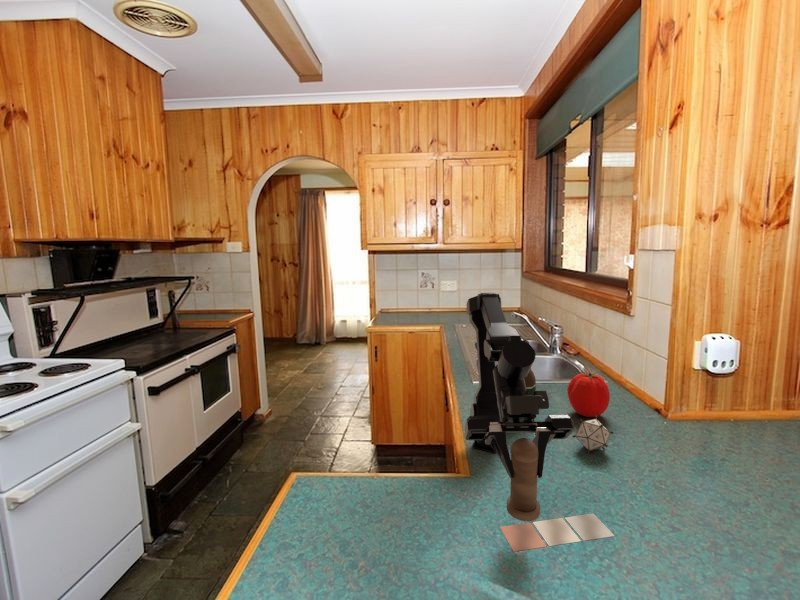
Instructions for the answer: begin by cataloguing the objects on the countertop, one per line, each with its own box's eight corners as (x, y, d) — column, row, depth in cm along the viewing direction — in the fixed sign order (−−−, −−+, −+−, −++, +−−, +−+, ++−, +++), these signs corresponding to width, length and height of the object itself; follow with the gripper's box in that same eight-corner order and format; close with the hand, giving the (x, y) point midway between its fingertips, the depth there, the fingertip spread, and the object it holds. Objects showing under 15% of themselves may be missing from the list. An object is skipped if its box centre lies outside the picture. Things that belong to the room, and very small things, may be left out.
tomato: (610, 411, 123) (612, 369, 121) (606, 427, 113) (608, 382, 111) (570, 403, 129) (571, 364, 127) (562, 418, 119) (564, 375, 117)
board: (512, 567, 66) (513, 561, 66) (490, 525, 76) (490, 520, 76) (627, 549, 69) (628, 543, 69) (591, 511, 79) (591, 505, 79)
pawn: (500, 508, 71) (500, 438, 69) (519, 495, 74) (520, 428, 72) (527, 526, 67) (529, 451, 65) (546, 511, 70) (548, 440, 68)
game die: (599, 465, 101) (621, 447, 94) (566, 452, 102) (585, 433, 95) (598, 435, 107) (619, 416, 100) (567, 422, 108) (585, 403, 101)
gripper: (466, 373, 71) (476, 466, 62) (573, 372, 71) (598, 465, 61) (461, 398, 80) (469, 482, 71) (555, 397, 80) (576, 481, 70)
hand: (526, 477), depth 68 cm, fingers closed on pawn, 4 cm apart
